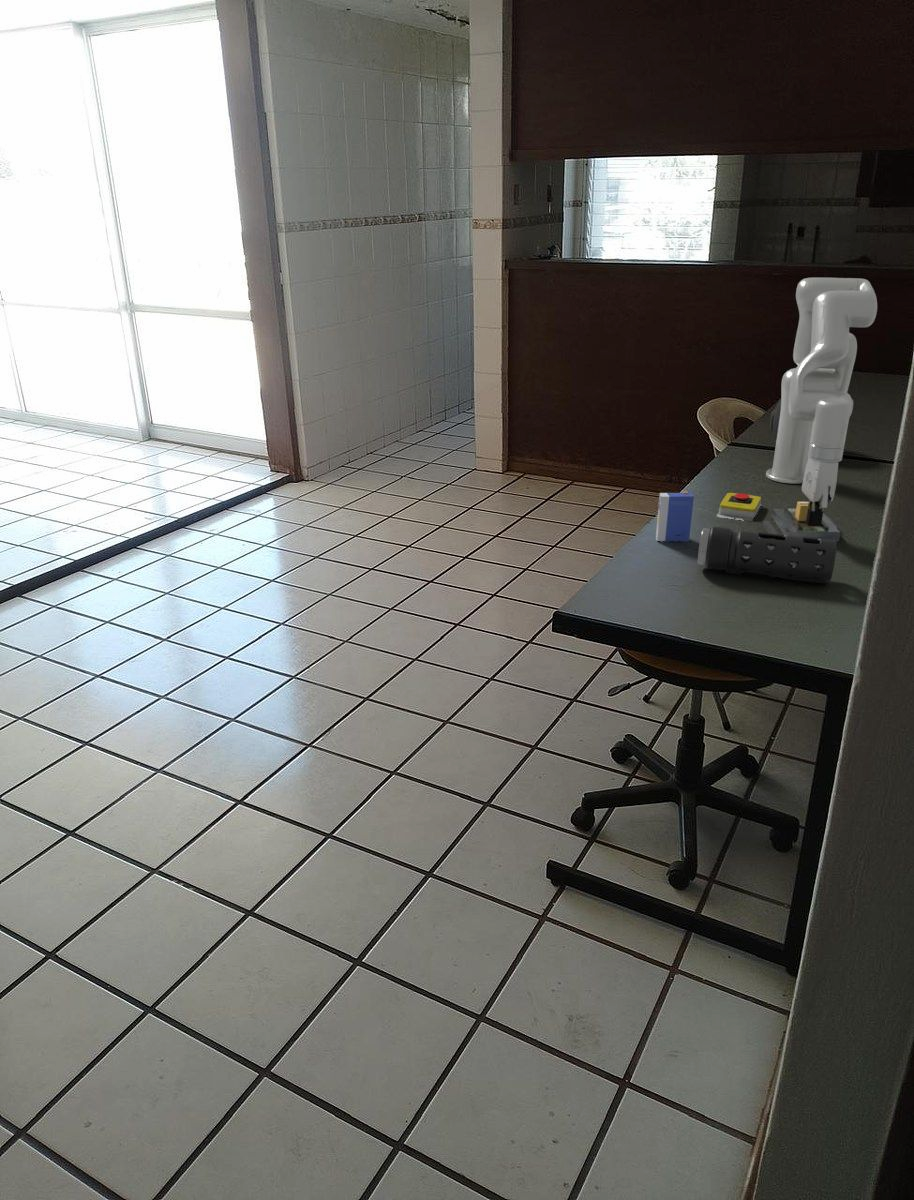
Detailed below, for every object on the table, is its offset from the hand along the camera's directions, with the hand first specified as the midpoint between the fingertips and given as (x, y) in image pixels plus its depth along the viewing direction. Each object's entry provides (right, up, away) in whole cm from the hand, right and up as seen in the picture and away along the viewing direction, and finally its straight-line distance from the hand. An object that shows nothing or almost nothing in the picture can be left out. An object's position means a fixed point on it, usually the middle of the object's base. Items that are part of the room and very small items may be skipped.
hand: (813, 525), depth 219 cm
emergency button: (-12, +5, +20) cm, 24 cm away
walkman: (-34, -4, +2) cm, 34 cm away
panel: (0, -1, +7) cm, 7 cm away
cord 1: (-9, -3, +3) cm, 10 cm away
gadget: (+23, +29, +68) cm, 77 cm away
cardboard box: (0, +2, +6) cm, 6 cm away
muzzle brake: (-19, -13, -18) cm, 29 cm away
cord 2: (+7, 0, +8) cm, 11 cm away
